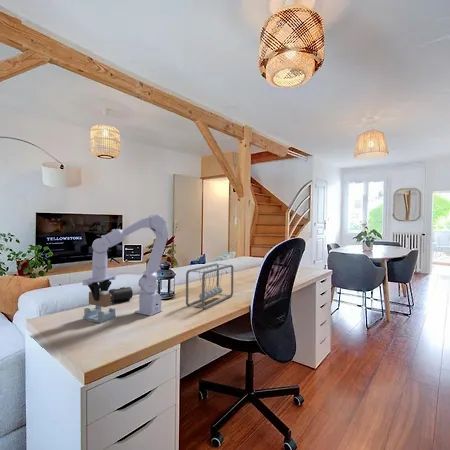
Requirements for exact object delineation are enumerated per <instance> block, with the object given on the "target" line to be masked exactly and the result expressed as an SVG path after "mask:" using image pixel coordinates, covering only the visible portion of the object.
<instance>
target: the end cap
mask: <svg viewBox="0 0 450 450" xmlns="http://www.w3.org/2000/svg"><path fill="white" fill-rule="evenodd" d="M108 292H109V293H110V294H111V302H112V303H111V304H116V302H117V303H120V302H121V301H122V302H126V301H130V300H131V299H133V298H132V297H133V294H134V292H133V289H132V287H131V286H128V287H127V286H123V287H119V288H117V289H116V288H111V289H108ZM125 300H126V301H125Z"/></svg>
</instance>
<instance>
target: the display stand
mask: <svg viewBox="0 0 450 450" xmlns="http://www.w3.org/2000/svg"><path fill="white" fill-rule="evenodd" d="M83 310H84V315H83V316H82V320H85V319H86V320H85V321H88V322H89V321H90V322H94V323H97V324H103V323H106V322H109V321H112V320H114V319H117V315H116V308H115V307H109V308H108V310H109V311H103V310H102V307H101V306H96V305H95V307H94V308H92V309H91V308H88V307H85V308H84V309H83Z"/></svg>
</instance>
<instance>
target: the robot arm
mask: <svg viewBox="0 0 450 450" xmlns="http://www.w3.org/2000/svg"><path fill="white" fill-rule="evenodd" d="M143 228H144V229H146V228H147V229H148V228H149V229H150V230H151V231H152V232H153V234H154V235H155V239H154V243H153V246H152V250H151V253H150V256H149V259H148V263H147V265H146V268H145V270H144V272H143V273H142V276H141V277H140V278H139V280H138V286H139V288H140V290H139V291H138V292H139V293H138V295H139V296H138V299H139V300H138V303H139V305H138V306H139V307H138V309H136V310H135V311H134V313H137V314H141V315H147V316H153V315H155V314H158V313H160V312H162V311H163V309H162V296H161V294H159V293H158V292H157V288H158V282H157V281H158V270H159V267H160V265H161V261H162V257H163V254H164V252H165V247H166V245H167V240H168V237H169V232H168V227H167V221H166V219H165V218H164V217H163V216H162V215H160V214H150V215H148V216H146V217H144V218H143V217H142V218H141V219H139V220H136V221H134V222H133V223H132V224H129V225H128V226H126V227H125V228H123V229H120V228H116V229H115V228H113V229H111V231H110V232H108V233H107V234H102V235H100V238H96V239H95V240H93V242H92V245H91V248H92V250H93V251H92V265H91V266H92V268H91V269H92V273H91V275H92V277H90V278H87V279H83V280H82V286H87V287H88V288H89V290H90V292H92V295H93V298H94V300H95V301H98V300H99V291H100V290H101V291H108V292H109V290H110V287H111V285H112V280H116V274H108V250H109V248H112V247H114V246H116V245H118V244H120V243H121V242H123V241H125V238H126V236H129V235H130V234H132V233H135V232H136V231H138V230H141V229H143Z"/></svg>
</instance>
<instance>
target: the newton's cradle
mask: <svg viewBox="0 0 450 450" xmlns="http://www.w3.org/2000/svg"><path fill="white" fill-rule="evenodd" d="M228 268H231V271H230V281H231V283H230V286H231V287H230V294H224V293H223V287H222V286H221V285H220V283H221V280H222V279H220V276H221V277H222V274H223V273H221V275H219V274H220V273H219V272H220V271H223V270H224V269H228ZM191 272H193V273H199V275H201V273H202V276H201V277H202V278H201V277H199V278H200V281H201V285H200V286H201V293H200V294H199V296H198V298H199V299H197V300H195V301H192V302H190V303H189V275H190V273H191ZM209 274H210V275H209ZM215 274H216V283H215V280H214V279H215V278H212V280H213V281H212V283H215V285H216V286H214V284H212V286H210V285H208V286H207V287H208V288H206V285H207V283H206V282H207V280H206V278H207V276H208V277H211V275H212V276H215ZM208 281H209V282H208V283H211V282H210V281H211V279H208ZM219 281H220V282H219ZM209 287H210V289H209ZM205 290H206V291H205ZM233 294H234V266H233V264H224V265H223V264H219V263H216V262H215V263H212V264H208V265H204V266H198V267H195V268H191V269H188V270H187V271H186V273H185V305H186V306H187V307H191V306H192V307H197V308H201V309H204V310H206V309H208V308H211V307H213V306H215V305H217V304H219V303H221V302H223V301H225V300H227V299H230V298H232V296H233ZM217 295H220V296H225V297H223V298H221V299H219V300H216V301H214V302H212V303H210V304H207V305H206V306H205V301H206V300H207V299H210V298H212V297H214V296H217ZM200 302H201V306H200V305H199V306H198V305H196V304H197V303H200Z"/></svg>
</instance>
